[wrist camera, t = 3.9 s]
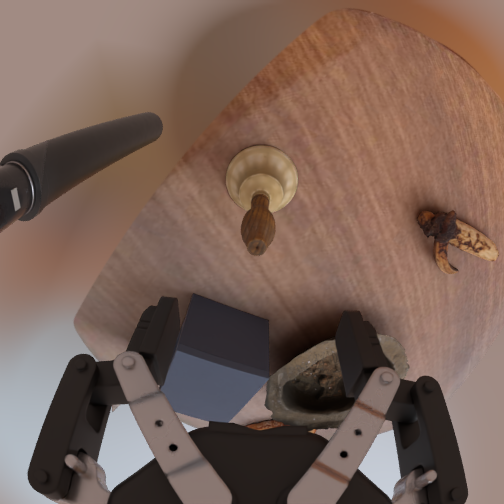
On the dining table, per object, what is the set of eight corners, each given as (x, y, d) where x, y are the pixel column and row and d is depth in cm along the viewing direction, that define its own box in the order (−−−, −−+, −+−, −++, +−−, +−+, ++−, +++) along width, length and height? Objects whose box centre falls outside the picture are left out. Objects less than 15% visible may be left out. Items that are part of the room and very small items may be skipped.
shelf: (168, 354, 50) (154, 405, 40) (193, 293, 42) (176, 350, 33) (230, 375, 52) (225, 425, 42) (268, 320, 44) (269, 378, 35)
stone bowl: (265, 400, 56) (264, 437, 47) (265, 305, 45) (263, 347, 36) (379, 393, 54) (389, 426, 46) (413, 299, 43) (435, 335, 35)
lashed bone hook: (394, 249, 38) (470, 279, 40) (405, 268, 34) (482, 296, 36) (425, 191, 33) (498, 234, 35) (441, 205, 29) (513, 249, 31)
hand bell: (237, 220, 36) (221, 306, 22) (216, 155, 32) (181, 207, 18) (304, 204, 35) (330, 285, 21) (288, 137, 31) (311, 175, 17)
